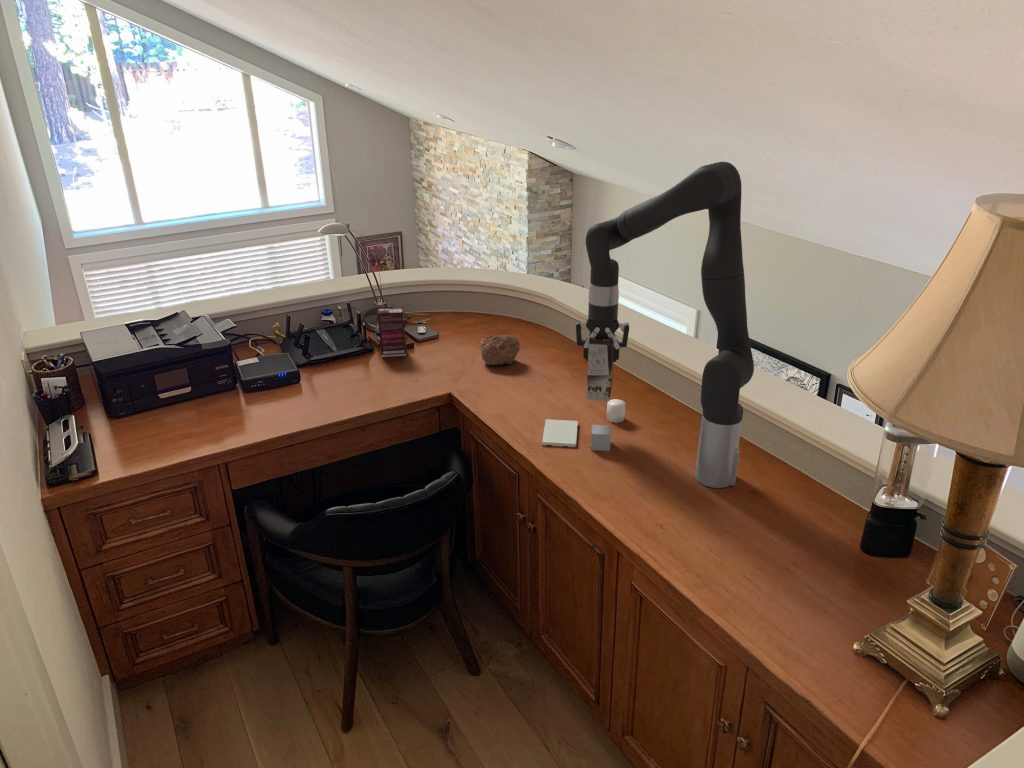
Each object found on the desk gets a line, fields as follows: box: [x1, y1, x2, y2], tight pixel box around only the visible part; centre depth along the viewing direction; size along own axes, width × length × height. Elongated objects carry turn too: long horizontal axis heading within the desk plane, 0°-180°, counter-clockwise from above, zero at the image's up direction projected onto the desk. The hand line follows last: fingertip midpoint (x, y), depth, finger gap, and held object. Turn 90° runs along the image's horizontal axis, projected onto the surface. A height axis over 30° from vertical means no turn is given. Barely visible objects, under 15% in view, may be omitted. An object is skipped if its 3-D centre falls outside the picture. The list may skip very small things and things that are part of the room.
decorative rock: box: [478, 334, 521, 366], centre depth 249 cm, size 13×11×10 cm
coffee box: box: [586, 338, 614, 402], centre depth 199 cm, size 9×6×16 cm
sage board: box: [541, 418, 579, 448], centre depth 206 cm, size 9×13×1 cm
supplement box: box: [376, 307, 407, 358], centre depth 254 cm, size 9×5×16 cm, turn 97°
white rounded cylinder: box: [606, 398, 626, 424], centre depth 213 cm, size 5×5×5 cm
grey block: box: [590, 424, 612, 452], centre depth 199 cm, size 5×5×5 cm
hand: (601, 360), depth 199 cm, fingers closed on coffee box, 6 cm apart
